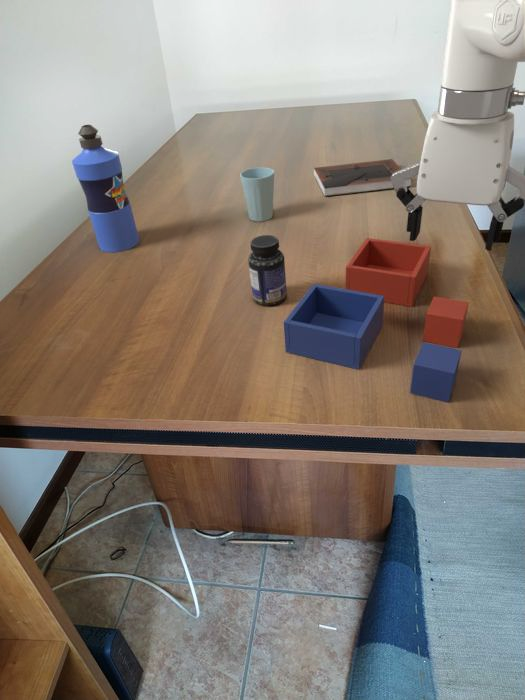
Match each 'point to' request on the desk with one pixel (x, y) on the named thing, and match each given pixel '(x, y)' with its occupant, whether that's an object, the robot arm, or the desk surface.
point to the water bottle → (105, 193)
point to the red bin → (389, 270)
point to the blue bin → (334, 325)
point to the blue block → (435, 371)
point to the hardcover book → (357, 177)
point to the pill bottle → (267, 271)
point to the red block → (445, 321)
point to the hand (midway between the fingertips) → (450, 241)
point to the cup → (259, 192)
